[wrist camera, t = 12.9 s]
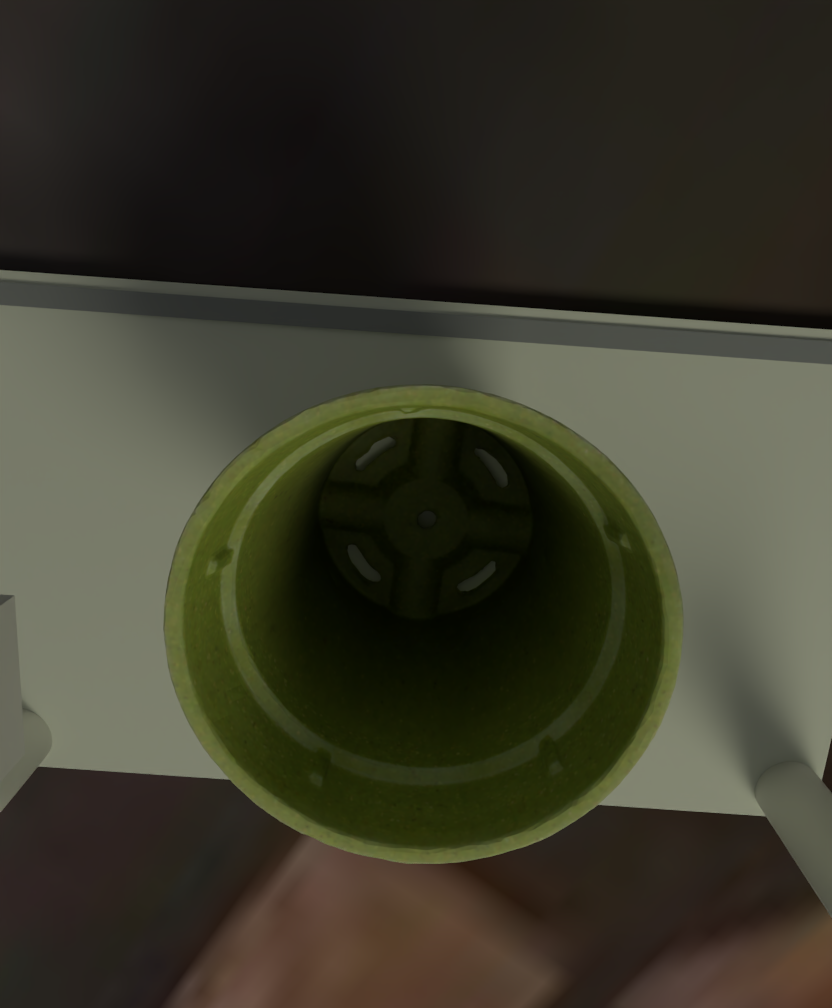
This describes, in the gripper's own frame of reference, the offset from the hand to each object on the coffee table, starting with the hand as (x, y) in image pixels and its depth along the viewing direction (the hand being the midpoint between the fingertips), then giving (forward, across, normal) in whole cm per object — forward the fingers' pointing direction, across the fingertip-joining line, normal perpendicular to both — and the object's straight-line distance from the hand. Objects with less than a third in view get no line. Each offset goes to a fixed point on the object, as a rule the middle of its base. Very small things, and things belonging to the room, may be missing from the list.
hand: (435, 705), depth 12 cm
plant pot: (+11, 0, 0) cm, 11 cm away
